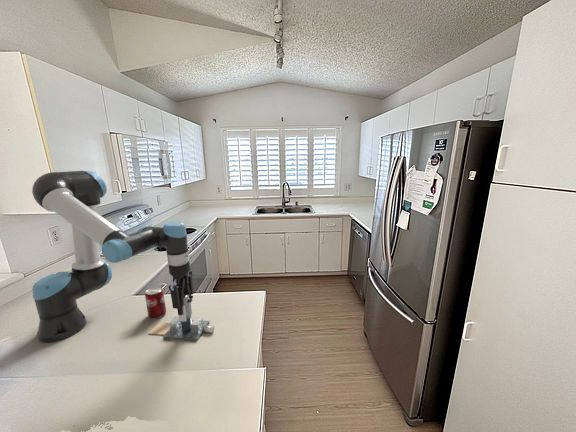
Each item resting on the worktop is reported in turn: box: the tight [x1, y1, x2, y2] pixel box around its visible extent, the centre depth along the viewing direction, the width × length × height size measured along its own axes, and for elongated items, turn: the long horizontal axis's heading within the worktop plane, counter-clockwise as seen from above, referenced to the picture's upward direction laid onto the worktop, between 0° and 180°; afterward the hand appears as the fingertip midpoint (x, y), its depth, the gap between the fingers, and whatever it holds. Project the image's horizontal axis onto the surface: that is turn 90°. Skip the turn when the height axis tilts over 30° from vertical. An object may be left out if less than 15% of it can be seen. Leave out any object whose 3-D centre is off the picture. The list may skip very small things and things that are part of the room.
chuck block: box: [162, 316, 215, 342], centre depth 102 cm, size 18×11×4 cm, turn 84°
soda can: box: [144, 286, 167, 320], centre depth 112 cm, size 7×7×12 cm
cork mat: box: [148, 322, 170, 336], centre depth 104 cm, size 7×7×1 cm
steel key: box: [181, 293, 193, 331], centre depth 101 cm, size 6×4×14 cm, turn 84°
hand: (185, 317), depth 101 cm, fingers closed on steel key, 4 cm apart
